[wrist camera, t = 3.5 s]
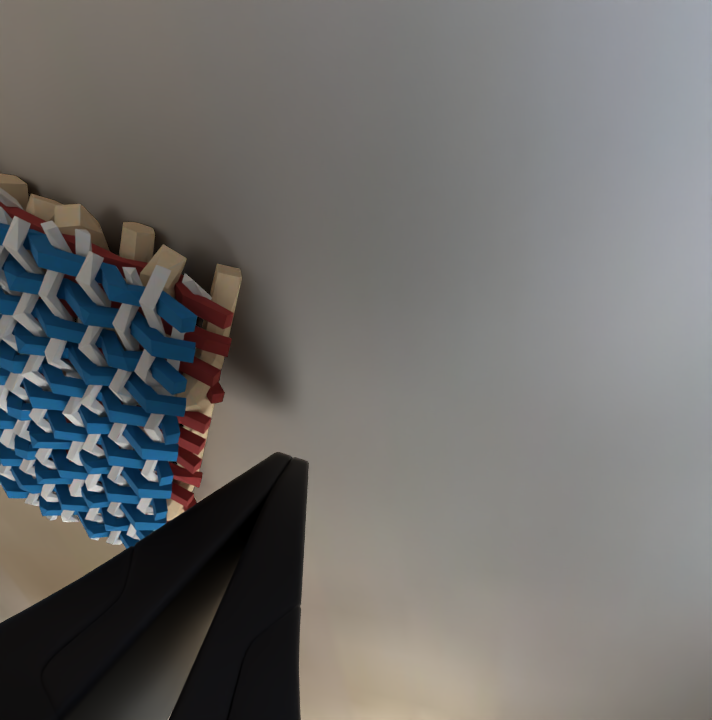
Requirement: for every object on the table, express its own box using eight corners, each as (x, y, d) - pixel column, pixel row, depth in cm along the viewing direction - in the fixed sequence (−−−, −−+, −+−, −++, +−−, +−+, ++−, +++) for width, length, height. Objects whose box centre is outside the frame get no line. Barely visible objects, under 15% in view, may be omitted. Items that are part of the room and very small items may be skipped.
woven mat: (202, 530, 13) (163, 585, 11) (-48, 410, 13) (-126, 444, 11) (270, 277, 8) (218, 301, 6) (-143, 84, 8) (-316, 50, 6)
